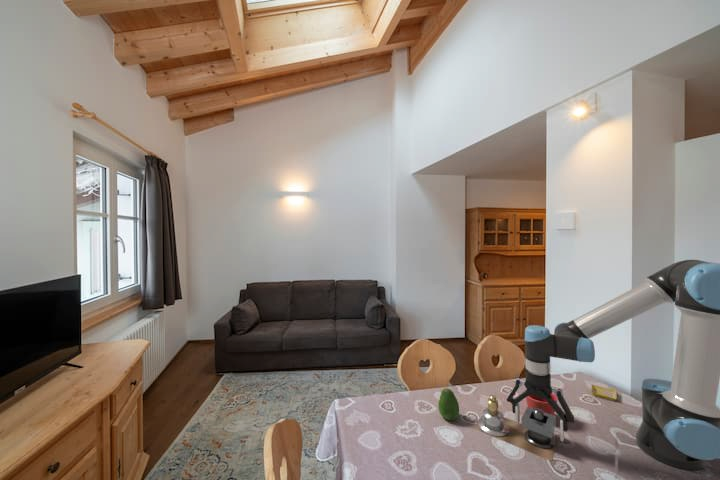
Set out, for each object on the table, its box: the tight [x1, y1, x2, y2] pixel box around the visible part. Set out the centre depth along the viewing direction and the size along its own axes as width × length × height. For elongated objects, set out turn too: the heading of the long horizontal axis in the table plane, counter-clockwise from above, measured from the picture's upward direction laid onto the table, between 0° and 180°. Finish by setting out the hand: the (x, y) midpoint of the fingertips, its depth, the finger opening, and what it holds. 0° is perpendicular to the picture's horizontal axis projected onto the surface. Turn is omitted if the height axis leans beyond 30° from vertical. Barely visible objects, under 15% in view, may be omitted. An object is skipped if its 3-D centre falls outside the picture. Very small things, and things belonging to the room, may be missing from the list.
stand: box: [525, 408, 555, 449], centre depth 102 cm, size 9×9×10 cm
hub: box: [477, 394, 510, 438], centre depth 109 cm, size 11×11×12 cm
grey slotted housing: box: [520, 406, 557, 438], centre depth 102 cm, size 9×9×3 cm
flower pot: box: [524, 388, 558, 416], centre depth 115 cm, size 11×11×10 cm
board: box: [473, 415, 559, 462], centre depth 106 cm, size 25×14×1 cm, turn 48°
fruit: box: [437, 387, 460, 421], centre depth 116 cm, size 8×8×12 cm
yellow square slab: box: [590, 384, 618, 402], centre depth 129 cm, size 9×9×2 cm
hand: (539, 430), depth 102 cm, fingers open, 13 cm apart
